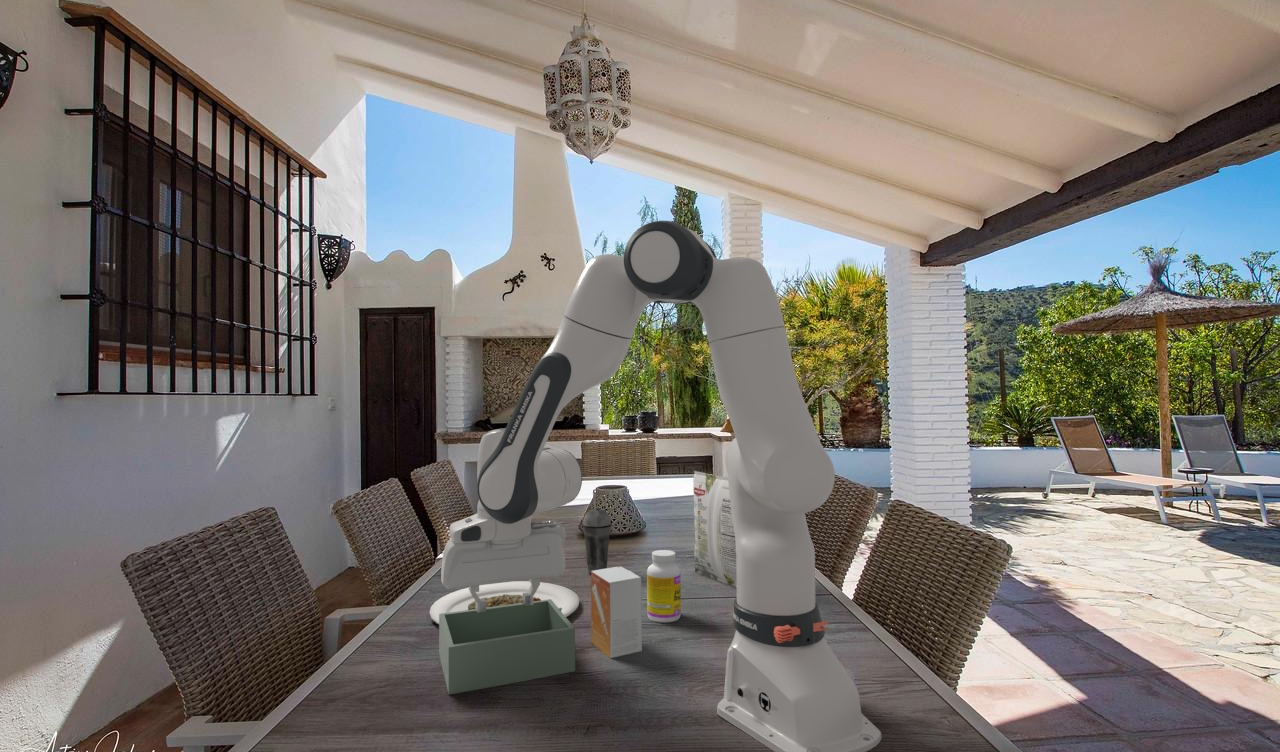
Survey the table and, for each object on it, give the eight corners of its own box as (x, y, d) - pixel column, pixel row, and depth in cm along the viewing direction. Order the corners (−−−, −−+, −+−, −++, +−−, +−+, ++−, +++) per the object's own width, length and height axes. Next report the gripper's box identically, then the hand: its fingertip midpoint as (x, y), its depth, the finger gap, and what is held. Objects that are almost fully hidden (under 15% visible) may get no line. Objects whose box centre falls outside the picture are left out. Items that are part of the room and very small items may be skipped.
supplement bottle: (678, 625, 125) (677, 557, 125) (644, 622, 126) (643, 556, 126) (682, 613, 131) (682, 549, 131) (650, 611, 132) (650, 547, 133)
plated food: (458, 588, 149) (458, 573, 150) (588, 590, 148) (588, 575, 148) (404, 639, 120) (404, 621, 120) (566, 642, 118) (566, 623, 118)
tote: (575, 672, 104) (575, 628, 104) (448, 694, 97) (448, 647, 97) (551, 637, 119) (550, 599, 119) (439, 654, 111) (439, 613, 111)
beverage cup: (617, 570, 162) (617, 489, 163) (600, 577, 156) (600, 494, 156) (594, 565, 166) (593, 487, 166) (576, 572, 160) (576, 491, 160)
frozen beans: (762, 592, 144) (760, 479, 145) (742, 596, 141) (741, 481, 142) (704, 570, 162) (703, 469, 162) (685, 573, 159) (684, 471, 159)
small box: (590, 643, 116) (589, 570, 116) (622, 636, 119) (621, 565, 119) (609, 660, 109) (609, 582, 109) (643, 652, 112) (642, 576, 112)
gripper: (560, 515, 115) (560, 594, 115) (439, 525, 107) (440, 610, 107) (570, 522, 109) (570, 605, 109) (443, 533, 101) (443, 622, 101)
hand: (504, 607), depth 108 cm, fingers open, 6 cm apart
